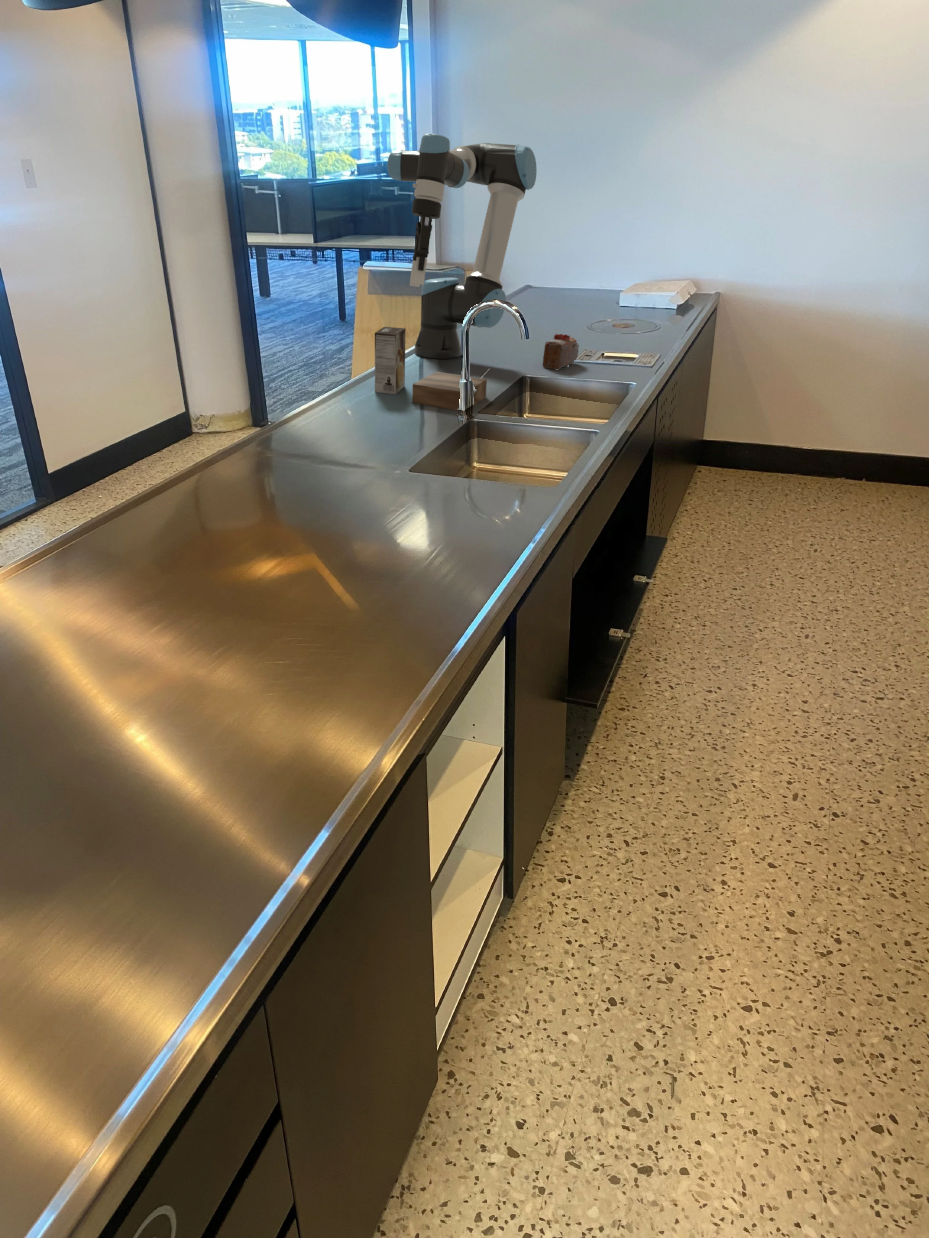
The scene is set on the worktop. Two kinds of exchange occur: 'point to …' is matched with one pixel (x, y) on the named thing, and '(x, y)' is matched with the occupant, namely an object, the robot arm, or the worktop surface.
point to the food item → (560, 352)
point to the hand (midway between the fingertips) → (416, 285)
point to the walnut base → (444, 390)
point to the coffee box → (389, 360)
